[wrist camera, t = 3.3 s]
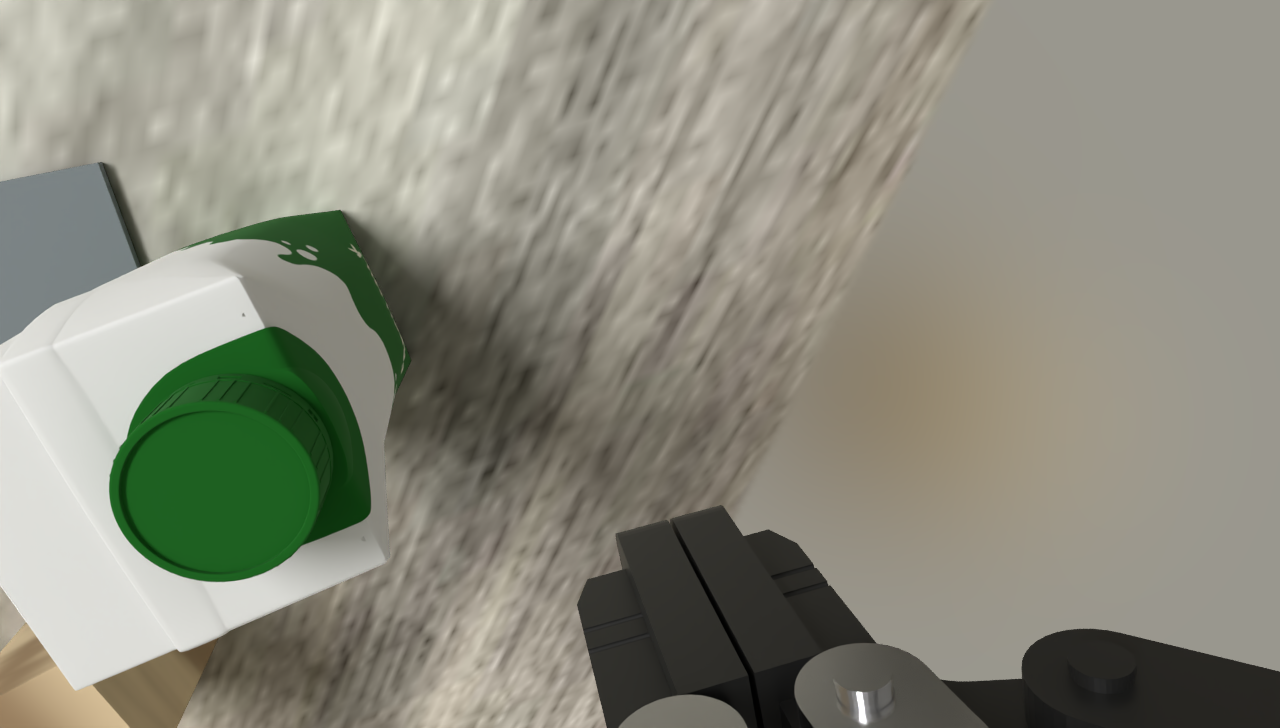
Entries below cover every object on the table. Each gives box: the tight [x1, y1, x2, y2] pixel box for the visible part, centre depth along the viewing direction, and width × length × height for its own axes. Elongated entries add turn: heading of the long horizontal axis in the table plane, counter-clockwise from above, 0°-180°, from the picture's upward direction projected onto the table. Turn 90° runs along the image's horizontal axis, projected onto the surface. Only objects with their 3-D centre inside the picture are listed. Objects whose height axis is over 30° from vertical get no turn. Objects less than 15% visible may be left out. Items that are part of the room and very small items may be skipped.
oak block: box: [0, 622, 218, 728], centre depth 34 cm, size 5×5×9 cm
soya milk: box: [0, 210, 411, 691], centre depth 27 cm, size 9×9×20 cm
